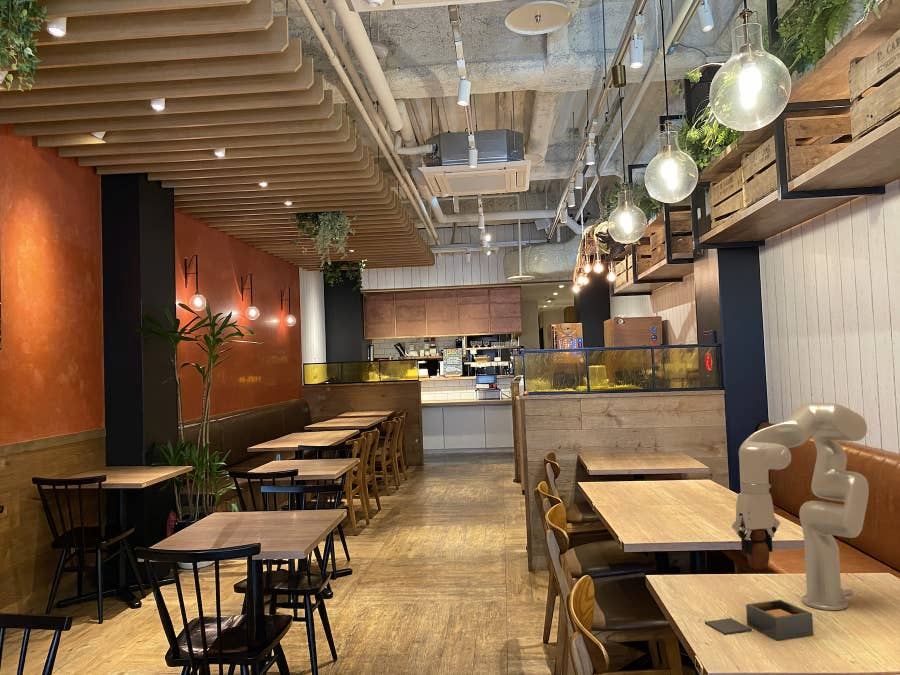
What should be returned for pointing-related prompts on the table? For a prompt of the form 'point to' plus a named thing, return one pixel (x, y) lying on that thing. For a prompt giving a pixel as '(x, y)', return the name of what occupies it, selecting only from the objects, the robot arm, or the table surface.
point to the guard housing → (779, 620)
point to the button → (778, 612)
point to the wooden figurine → (758, 550)
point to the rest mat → (728, 626)
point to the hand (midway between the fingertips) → (757, 551)
